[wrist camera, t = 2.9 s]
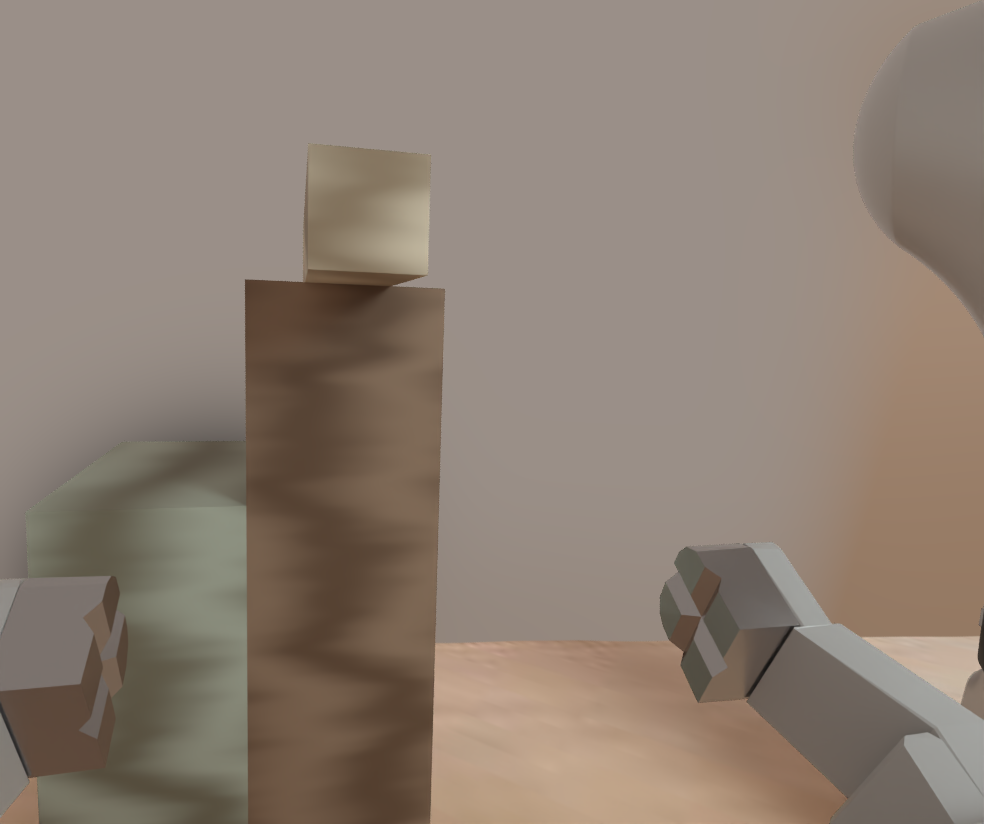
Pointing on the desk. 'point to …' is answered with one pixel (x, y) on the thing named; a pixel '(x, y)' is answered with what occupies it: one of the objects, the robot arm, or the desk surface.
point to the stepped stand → (273, 579)
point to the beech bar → (365, 216)
